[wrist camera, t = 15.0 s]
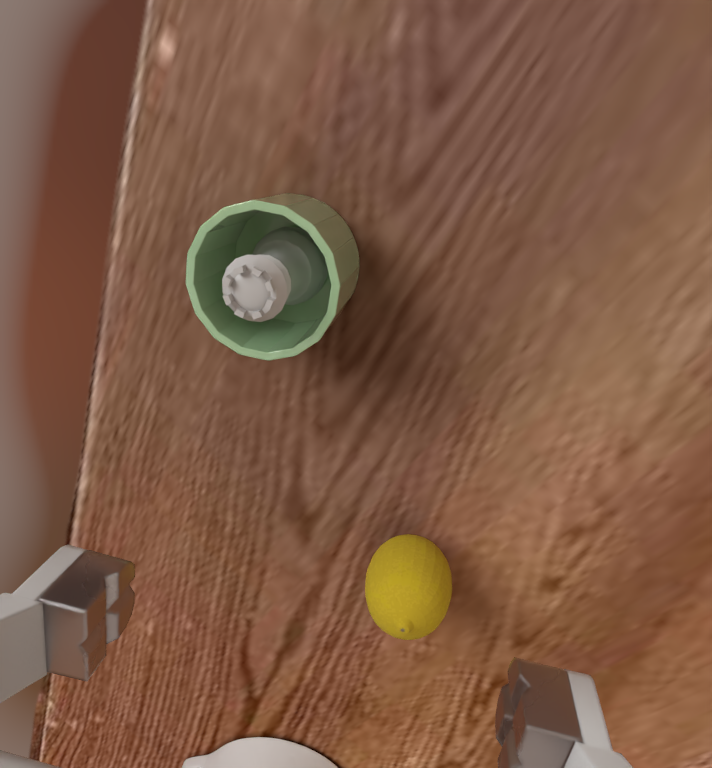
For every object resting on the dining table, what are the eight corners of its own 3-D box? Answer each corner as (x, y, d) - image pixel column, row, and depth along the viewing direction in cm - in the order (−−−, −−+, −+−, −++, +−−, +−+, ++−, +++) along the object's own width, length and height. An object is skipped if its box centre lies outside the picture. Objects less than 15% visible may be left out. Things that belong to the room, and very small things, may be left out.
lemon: (426, 499, 39) (419, 579, 32) (467, 560, 40) (469, 649, 33) (359, 530, 41) (337, 612, 33) (400, 587, 42) (388, 678, 35)
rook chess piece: (264, 304, 35) (213, 343, 28) (250, 230, 34) (192, 250, 26) (335, 297, 34) (301, 335, 27) (323, 220, 33) (284, 238, 25)
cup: (348, 337, 36) (326, 373, 30) (227, 311, 36) (182, 342, 30) (370, 208, 33) (351, 218, 27) (238, 182, 33) (190, 187, 27)
